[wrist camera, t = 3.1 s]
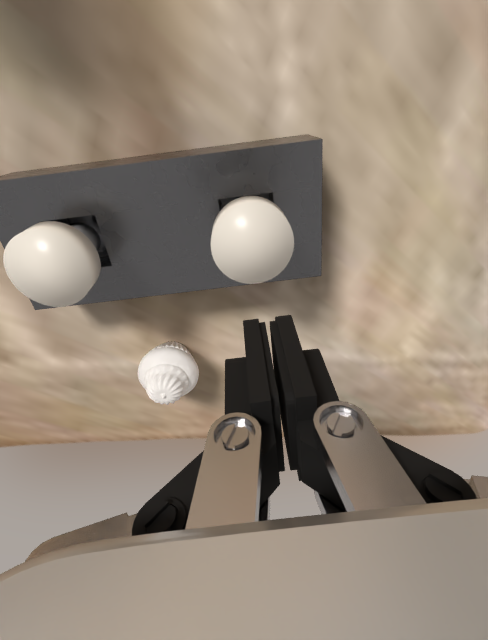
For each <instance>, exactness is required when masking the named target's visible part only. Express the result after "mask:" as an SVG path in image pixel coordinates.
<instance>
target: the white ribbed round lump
mask: <svg viewBox="0 0 488 640" xmlns="http://www.w3.org/2000/svg"><path fill="white" fill-rule="evenodd" d="M198 377H199V368H198V365H197V363H196V362H195V360H194V357H193V356H192V355H191V353H190V352H189V351H188V350H187V348H186V347H185V346H183V344H181V343H178V342H175V341H174V342H172V341H171V342H169V341H168V342H165V343H163V344H161V345H159V346H157V347H155V348H153V349H152V350H150V351H149V352H148V353H147V354H146V355H145V356H144V357H143V358H142V360H141V362H140V364H139V367H138V378H139V381H140V383H141V385H142V386H143V387H144V388H145V390H146V392H147V394H148V395H149V398H150V399H152V400H154V402H156V403H159V402H160V404H164V403H165V404H167V405H168V404H169V403H174V402H175V401H176V400H179V399H180V397H181V396H184V395H185V394H187V393H189V392H190V391H191V390H192V389H193V388H194V387H195V385H196V384H197V381H198Z"/></svg>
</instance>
